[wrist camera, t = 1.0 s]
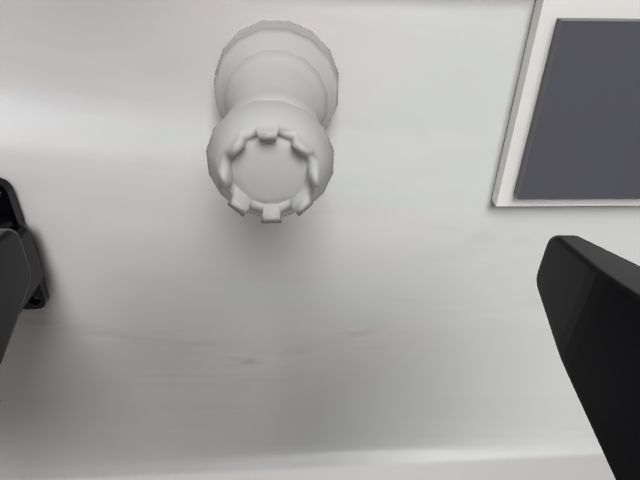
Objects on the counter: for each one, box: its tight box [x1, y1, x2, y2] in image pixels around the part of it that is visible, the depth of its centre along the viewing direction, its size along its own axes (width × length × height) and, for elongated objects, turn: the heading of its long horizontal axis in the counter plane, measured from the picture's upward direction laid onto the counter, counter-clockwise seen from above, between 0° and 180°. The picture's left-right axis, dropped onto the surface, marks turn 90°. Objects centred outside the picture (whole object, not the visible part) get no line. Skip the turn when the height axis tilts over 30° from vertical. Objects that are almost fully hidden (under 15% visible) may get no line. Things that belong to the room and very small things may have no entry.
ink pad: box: [492, 0, 640, 206], centre depth 20 cm, size 8×8×1 cm
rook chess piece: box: [206, 21, 338, 223], centre depth 16 cm, size 4×4×8 cm
